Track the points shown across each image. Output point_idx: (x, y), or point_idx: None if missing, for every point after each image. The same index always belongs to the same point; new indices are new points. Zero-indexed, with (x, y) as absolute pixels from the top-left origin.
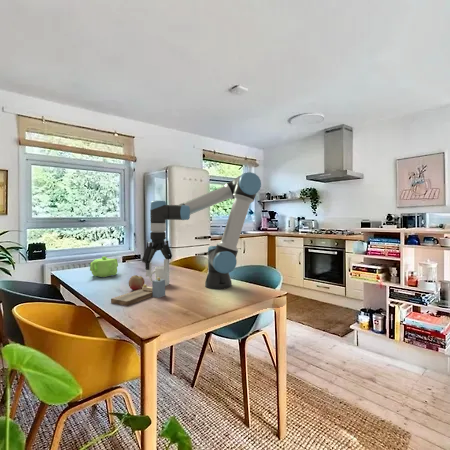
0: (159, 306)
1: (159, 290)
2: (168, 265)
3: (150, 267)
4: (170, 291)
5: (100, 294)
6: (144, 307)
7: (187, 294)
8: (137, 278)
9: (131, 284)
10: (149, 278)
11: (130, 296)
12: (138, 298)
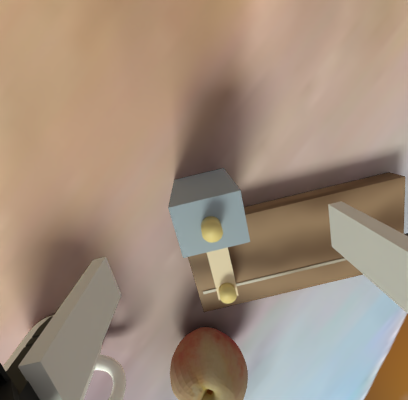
0: (324, 36)
1: (223, 176)
2: (74, 297)
3: (404, 237)
4: (111, 216)
5: (328, 372)
6: (370, 87)
7: (77, 93)
8: (222, 379)
9: (244, 360)
10: (125, 386)
11: None
12: (327, 193)
